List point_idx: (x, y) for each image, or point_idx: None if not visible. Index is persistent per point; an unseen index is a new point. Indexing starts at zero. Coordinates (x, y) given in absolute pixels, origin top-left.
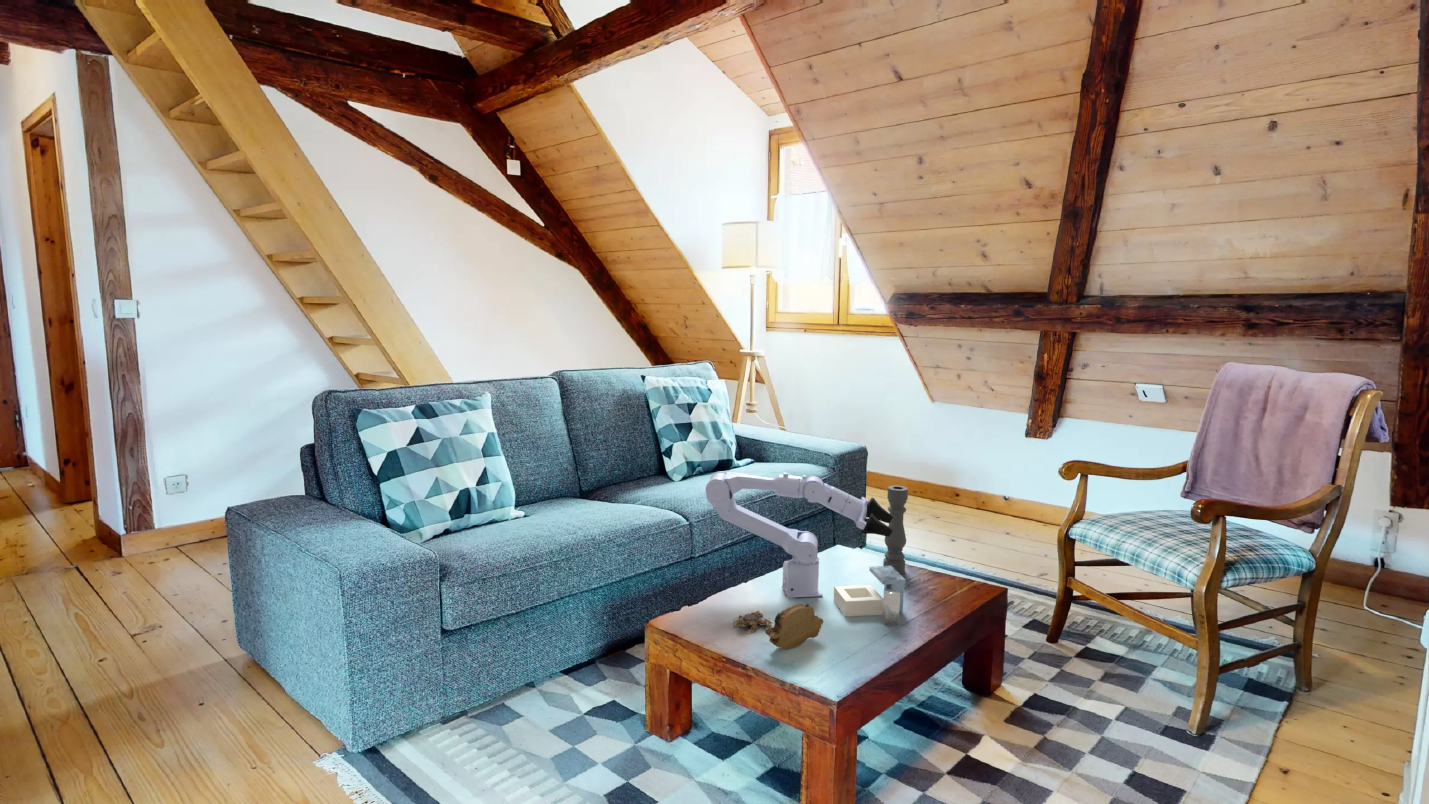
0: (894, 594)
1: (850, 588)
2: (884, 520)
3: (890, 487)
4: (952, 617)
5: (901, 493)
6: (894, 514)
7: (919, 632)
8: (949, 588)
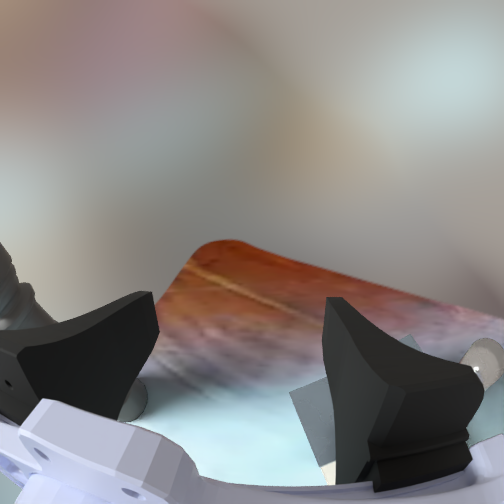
0: (497, 349)
1: None
2: (144, 349)
3: None
4: (371, 288)
5: None
6: (28, 321)
7: (470, 331)
8: (216, 300)
